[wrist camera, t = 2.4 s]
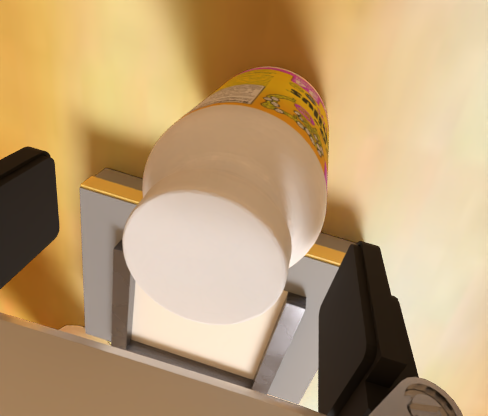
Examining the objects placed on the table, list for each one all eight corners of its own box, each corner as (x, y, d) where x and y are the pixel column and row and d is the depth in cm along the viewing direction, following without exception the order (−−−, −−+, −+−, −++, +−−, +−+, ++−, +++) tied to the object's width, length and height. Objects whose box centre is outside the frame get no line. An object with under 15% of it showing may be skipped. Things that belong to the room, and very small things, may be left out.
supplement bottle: (337, 168, 21) (343, 351, 10) (231, 185, 23) (143, 352, 12) (318, 47, 18) (298, 125, 7) (198, 78, 20) (44, 176, 9)
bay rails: (306, 297, 23) (305, 309, 22) (264, 392, 28) (262, 404, 28) (121, 239, 23) (113, 248, 22) (117, 343, 29) (111, 353, 28)
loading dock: (366, 243, 23) (370, 275, 21) (300, 370, 31) (298, 405, 28) (105, 165, 24) (78, 185, 22) (104, 306, 32) (84, 334, 29)
